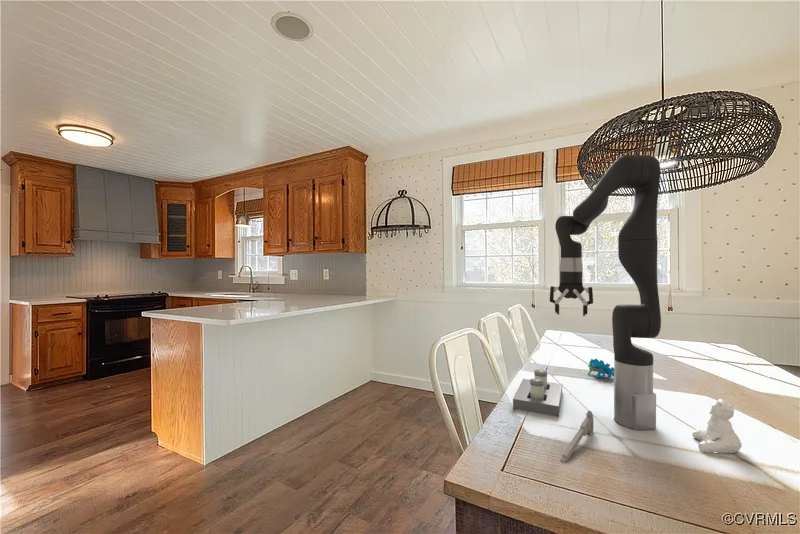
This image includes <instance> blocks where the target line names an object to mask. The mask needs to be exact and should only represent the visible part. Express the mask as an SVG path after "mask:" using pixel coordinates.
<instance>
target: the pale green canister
mask: <svg viewBox="0 0 800 534" xmlns="http://www.w3.org/2000/svg"><path fill="white" fill-rule="evenodd" d="M529 380H530V399H537V400H543V401H544V380H542V379H536V378H535V377H533V378H530V379H529Z"/></svg>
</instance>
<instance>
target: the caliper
mask: <svg viewBox="0 0 800 534" xmlns="http://www.w3.org/2000/svg"><path fill="white" fill-rule="evenodd" d="M585 415H586V417H585V418H584V420H583V421H582V422H581V425H580V426H579V429H578V430H577V432H576V433H575V434H574V436H573V438H572V439H571V441H569V444H568V445H567V447H566V448H565V450H564V451H563V452H562V454H561V455H562V456H561V457H560V460H559V461H560V462H561V463H567V461H568V460H569V459H570V458H571V456H572V454H573V453H574V451H575V450H576V449H577V447H578V445H579V444H580V443H581V440H582V439H583V437H587V435H589V436H592V434H593V433H594V414H593V411H591V410H587V412H586V414H585Z"/></svg>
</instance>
